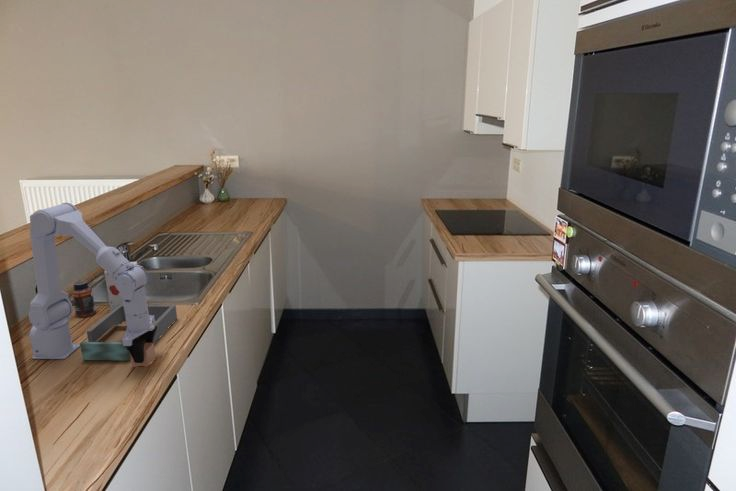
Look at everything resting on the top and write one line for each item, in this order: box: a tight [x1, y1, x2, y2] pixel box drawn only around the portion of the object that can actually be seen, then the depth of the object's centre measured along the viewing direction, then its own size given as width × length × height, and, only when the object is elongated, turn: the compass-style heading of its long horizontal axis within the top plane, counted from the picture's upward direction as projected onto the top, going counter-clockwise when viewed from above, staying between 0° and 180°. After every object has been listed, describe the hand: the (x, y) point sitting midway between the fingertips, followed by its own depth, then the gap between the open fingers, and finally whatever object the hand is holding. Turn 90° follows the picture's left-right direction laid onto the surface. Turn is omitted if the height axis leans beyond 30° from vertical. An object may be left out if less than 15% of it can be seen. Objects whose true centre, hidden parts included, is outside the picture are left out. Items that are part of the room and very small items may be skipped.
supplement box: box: [103, 261, 139, 312], centre depth 177 cm, size 9×9×15 cm
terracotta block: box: [130, 343, 157, 368], centre depth 143 cm, size 4×4×5 cm
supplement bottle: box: [71, 280, 97, 318], centre depth 173 cm, size 6×6×11 cm
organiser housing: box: [86, 304, 178, 344], centre depth 160 cm, size 18×19×5 cm
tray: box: [79, 324, 139, 362], centre depth 152 cm, size 13×17×5 cm
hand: (143, 357), depth 143 cm, fingers open, 5 cm apart
